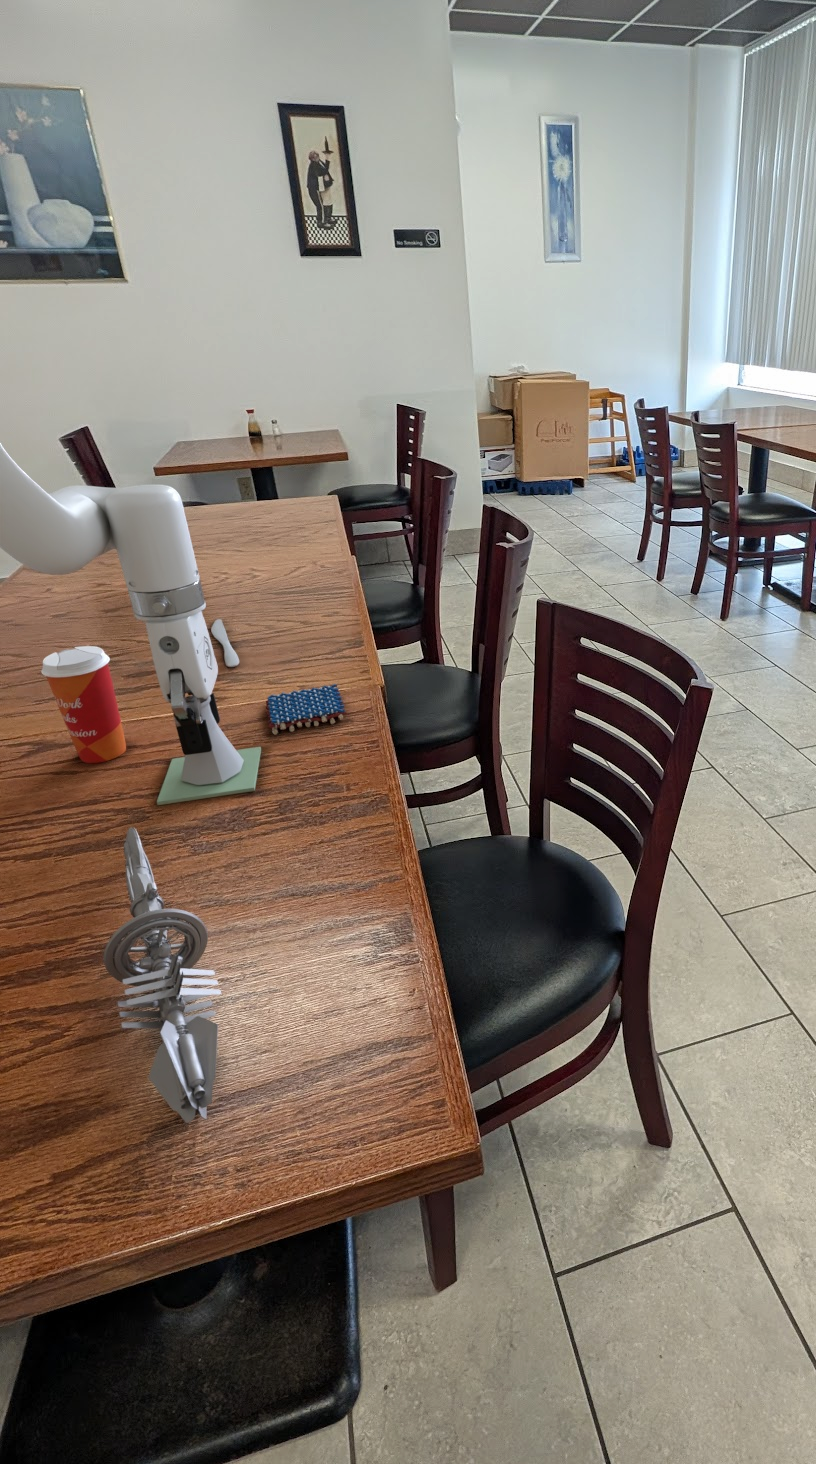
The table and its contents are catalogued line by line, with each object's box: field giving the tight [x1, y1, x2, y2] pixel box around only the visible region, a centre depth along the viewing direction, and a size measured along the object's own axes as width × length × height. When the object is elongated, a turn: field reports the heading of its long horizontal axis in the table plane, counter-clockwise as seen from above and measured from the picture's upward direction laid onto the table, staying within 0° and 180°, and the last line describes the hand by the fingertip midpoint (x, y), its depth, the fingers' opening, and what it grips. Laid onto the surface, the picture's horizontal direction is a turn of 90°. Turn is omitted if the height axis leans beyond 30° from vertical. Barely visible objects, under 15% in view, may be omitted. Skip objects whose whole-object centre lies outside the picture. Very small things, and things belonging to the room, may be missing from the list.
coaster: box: [156, 746, 262, 806], centre depth 103 cm, size 11×11×1 cm
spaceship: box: [103, 826, 222, 1124], centre depth 69 cm, size 8×35×8 cm
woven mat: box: [265, 683, 347, 736], centre depth 118 cm, size 10×11×2 cm
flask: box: [181, 695, 244, 785], centre depth 100 cm, size 7×7×10 cm
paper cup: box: [40, 645, 127, 764], centre depth 106 cm, size 8×8×14 cm
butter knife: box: [210, 618, 240, 668], centre depth 145 cm, size 1×27×3 cm
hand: (202, 736), depth 100 cm, fingers open, 7 cm apart
